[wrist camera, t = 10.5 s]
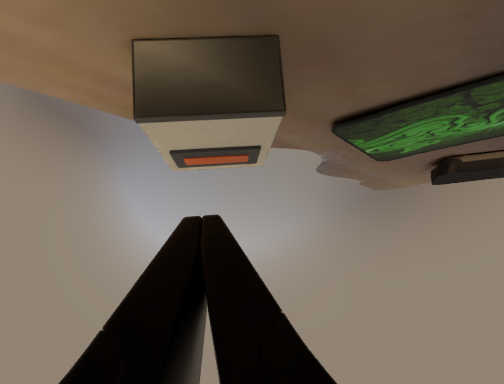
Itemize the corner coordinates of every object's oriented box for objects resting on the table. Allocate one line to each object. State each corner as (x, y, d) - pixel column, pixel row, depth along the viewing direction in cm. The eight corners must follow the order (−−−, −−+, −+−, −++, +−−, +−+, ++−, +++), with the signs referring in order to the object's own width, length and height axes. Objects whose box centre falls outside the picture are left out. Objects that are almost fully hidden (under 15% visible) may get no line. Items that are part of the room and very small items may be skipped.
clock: (133, 124, 20) (172, 176, 35) (287, 117, 21) (263, 171, 35) (131, 39, 21) (170, 124, 35) (279, 35, 22) (259, 119, 36)
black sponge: (424, 167, 67) (427, 185, 67) (439, 156, 59) (443, 177, 59) (517, 156, 65) (521, 176, 64) (547, 144, 56) (552, 166, 56)
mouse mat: (712, 12, 23) (716, 26, 23) (614, 108, 41) (617, 117, 41) (323, 122, 38) (324, 131, 38) (377, 157, 56) (378, 163, 56)
